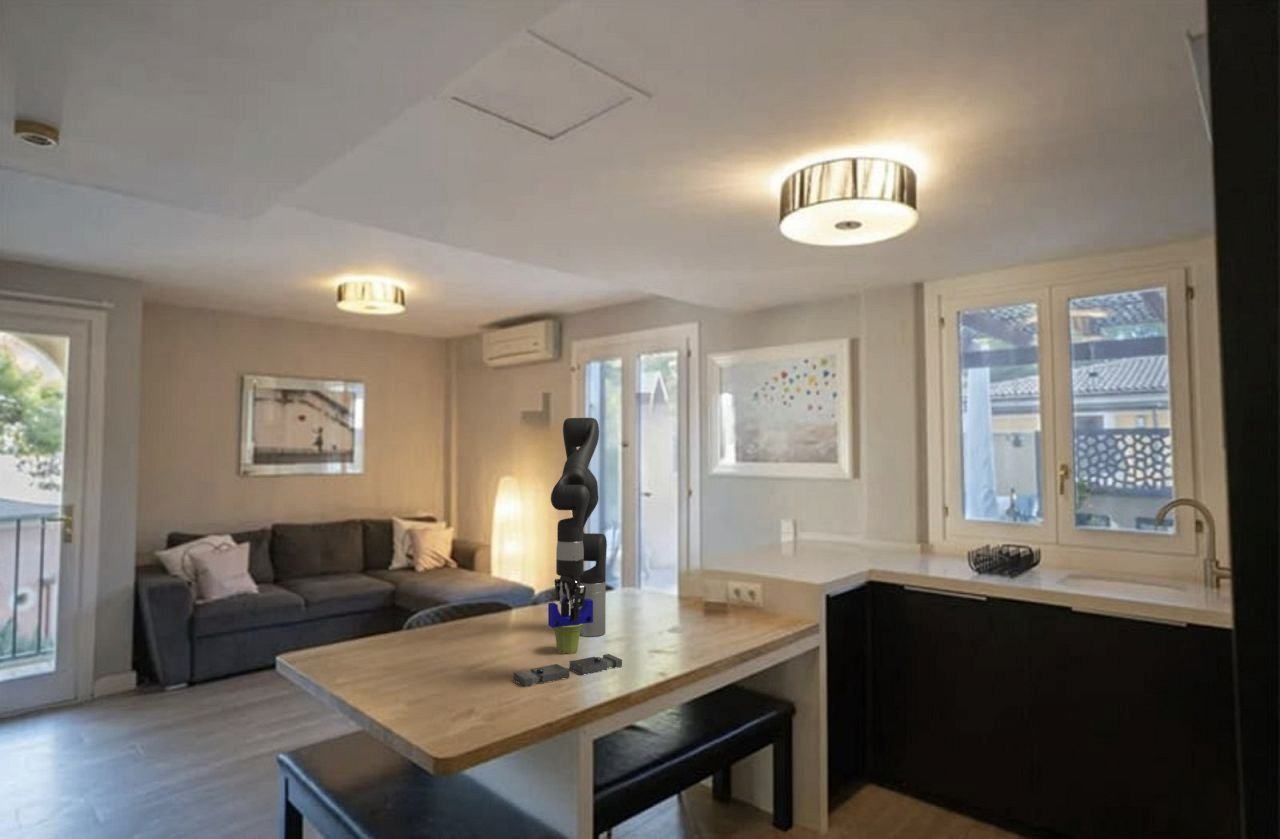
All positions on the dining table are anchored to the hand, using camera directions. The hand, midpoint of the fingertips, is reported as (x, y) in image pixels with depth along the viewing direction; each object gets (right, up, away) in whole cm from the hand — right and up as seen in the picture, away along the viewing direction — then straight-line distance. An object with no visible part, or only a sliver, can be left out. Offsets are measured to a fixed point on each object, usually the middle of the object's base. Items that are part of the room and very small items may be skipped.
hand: (569, 619), depth 191 cm
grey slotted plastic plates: (0, -15, -1) cm, 15 cm away
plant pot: (-3, -16, +20) cm, 26 cm away
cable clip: (0, -1, 0) cm, 1 cm away
